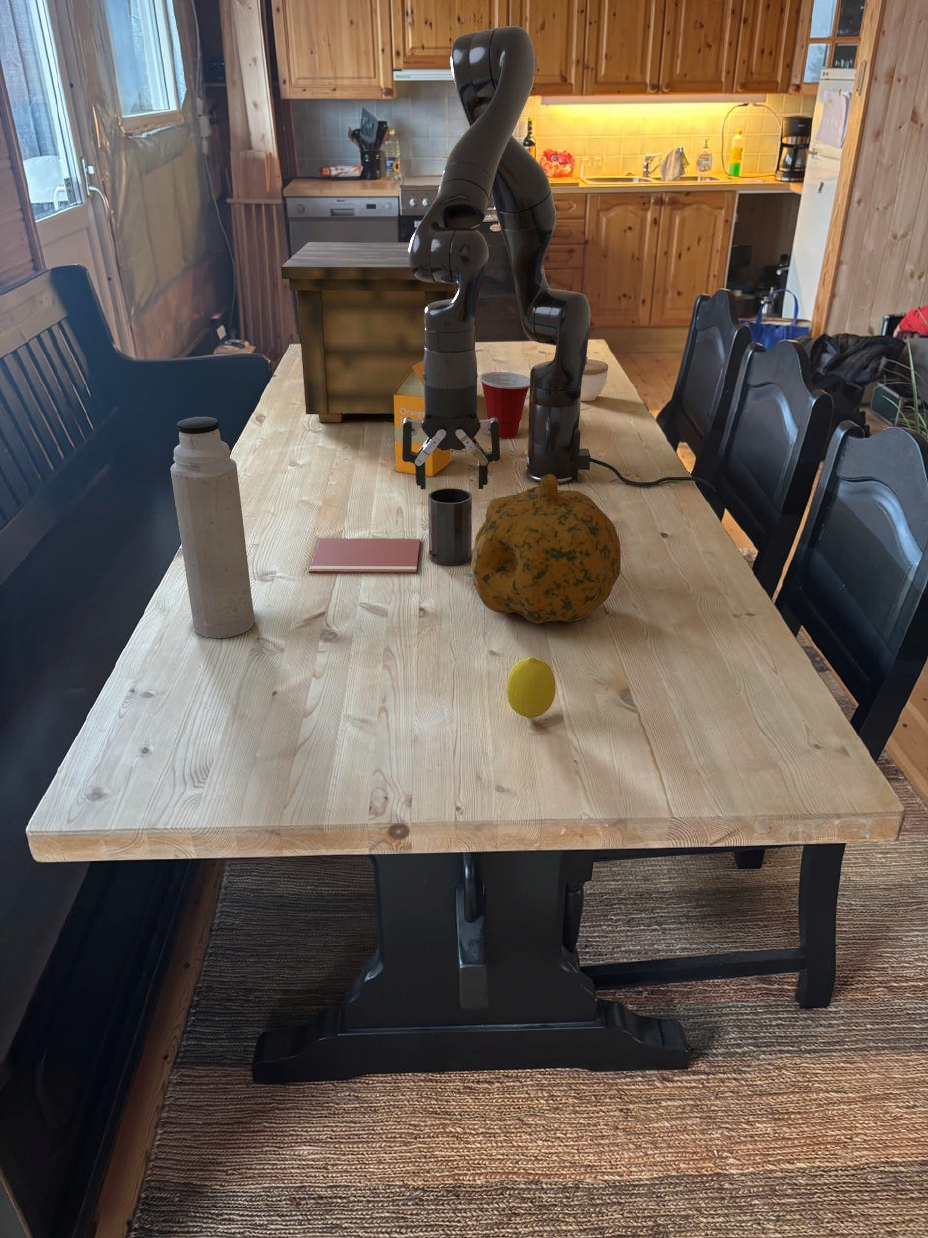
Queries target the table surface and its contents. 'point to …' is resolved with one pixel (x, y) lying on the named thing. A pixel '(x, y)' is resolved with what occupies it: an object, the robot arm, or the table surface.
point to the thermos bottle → (211, 530)
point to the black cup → (450, 526)
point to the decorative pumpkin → (545, 554)
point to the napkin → (366, 556)
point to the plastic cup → (505, 399)
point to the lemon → (531, 687)
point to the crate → (358, 323)
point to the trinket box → (593, 379)
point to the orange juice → (412, 406)
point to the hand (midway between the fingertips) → (451, 487)
